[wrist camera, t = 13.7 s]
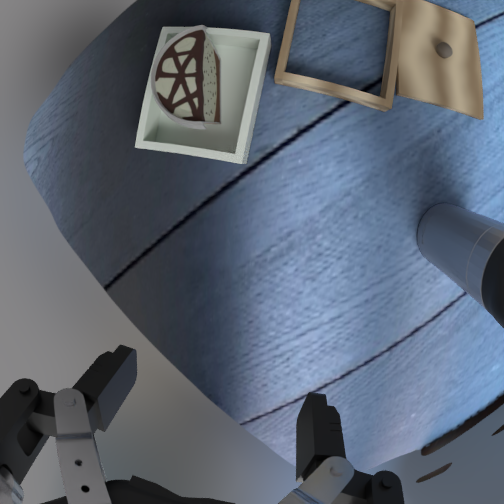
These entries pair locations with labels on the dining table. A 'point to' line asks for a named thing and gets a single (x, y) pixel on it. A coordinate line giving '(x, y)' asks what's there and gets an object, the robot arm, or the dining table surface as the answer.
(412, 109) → the dining table surface
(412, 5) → the bin lid
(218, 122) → the food container
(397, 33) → the bin frame
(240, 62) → the bin
